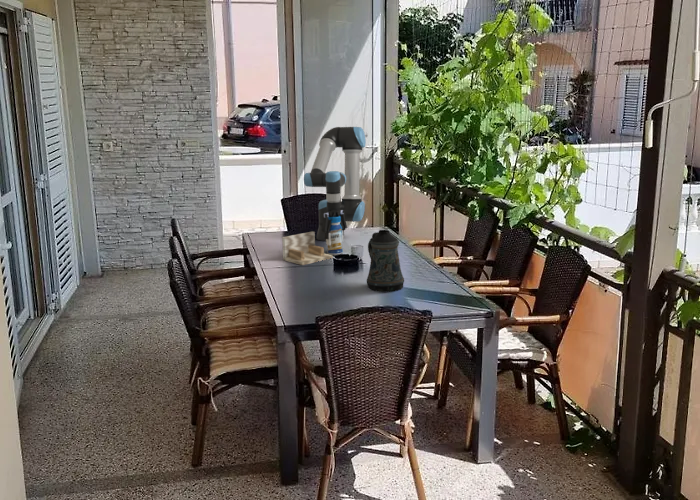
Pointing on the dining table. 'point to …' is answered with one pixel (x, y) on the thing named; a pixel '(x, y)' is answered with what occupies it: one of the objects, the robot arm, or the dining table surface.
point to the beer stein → (384, 263)
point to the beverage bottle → (335, 236)
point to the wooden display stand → (303, 249)
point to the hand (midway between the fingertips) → (334, 243)
